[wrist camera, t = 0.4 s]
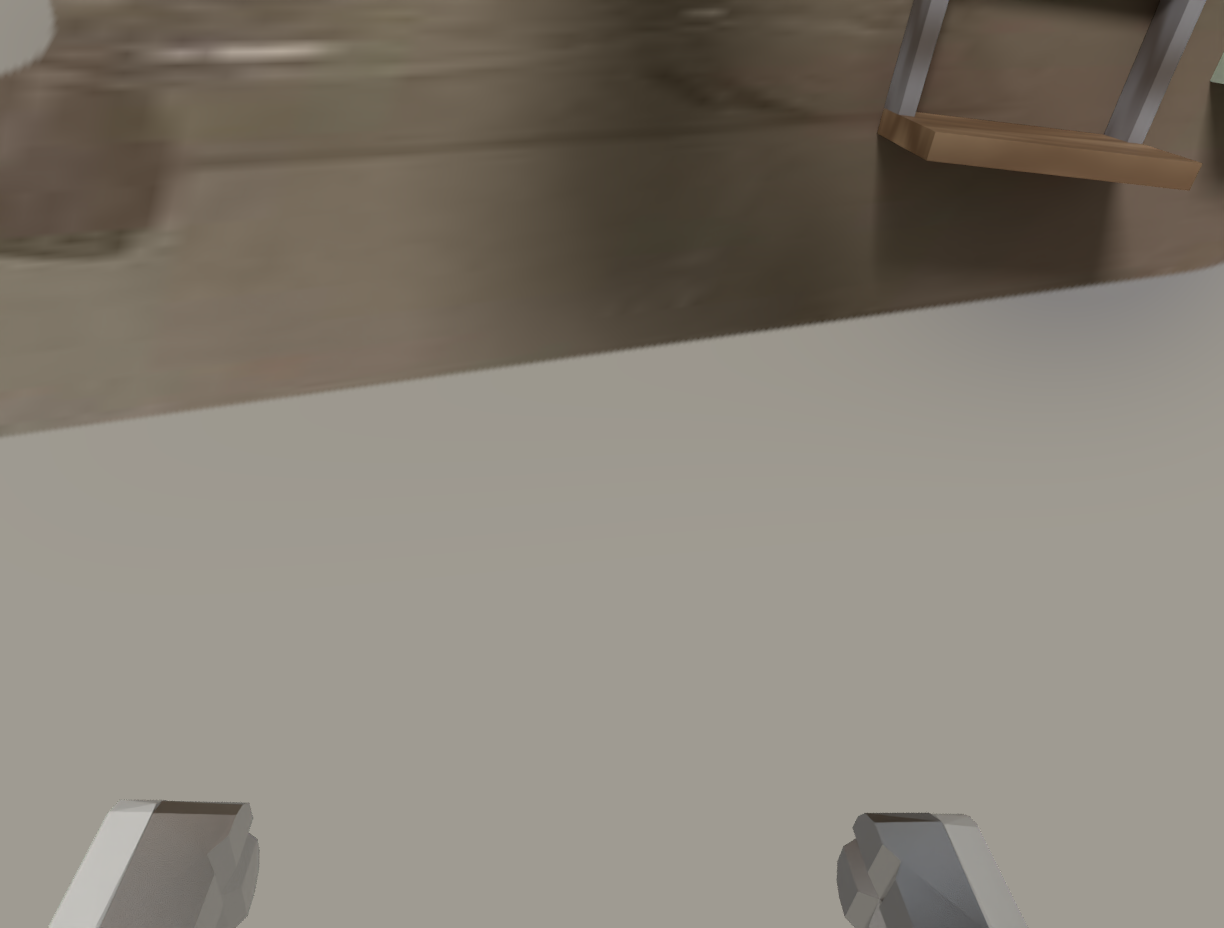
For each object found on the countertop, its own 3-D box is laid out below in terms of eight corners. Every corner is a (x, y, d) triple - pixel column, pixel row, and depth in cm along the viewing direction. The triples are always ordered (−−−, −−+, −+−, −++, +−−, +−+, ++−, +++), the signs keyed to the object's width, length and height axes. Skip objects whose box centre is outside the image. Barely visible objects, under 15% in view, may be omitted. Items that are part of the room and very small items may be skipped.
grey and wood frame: (940, -95, 44) (1009, -104, 38) (1200, -56, 46) (1310, -57, 39) (877, 133, 51) (926, 160, 44) (1107, 160, 52) (1189, 190, 46)
